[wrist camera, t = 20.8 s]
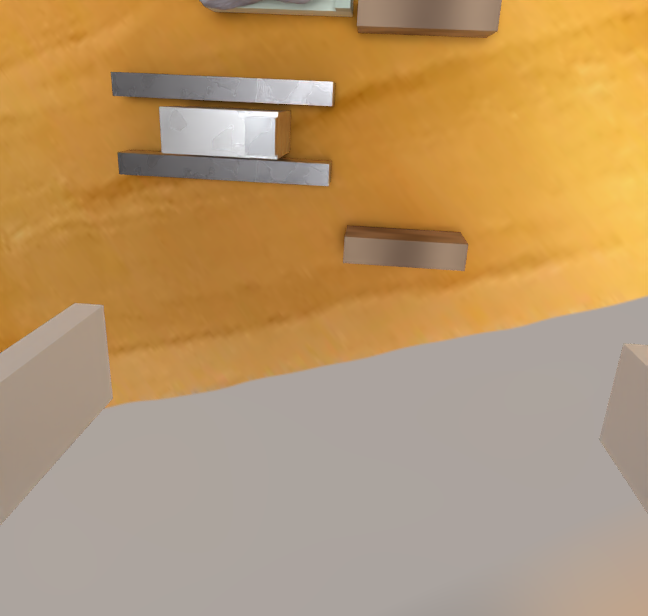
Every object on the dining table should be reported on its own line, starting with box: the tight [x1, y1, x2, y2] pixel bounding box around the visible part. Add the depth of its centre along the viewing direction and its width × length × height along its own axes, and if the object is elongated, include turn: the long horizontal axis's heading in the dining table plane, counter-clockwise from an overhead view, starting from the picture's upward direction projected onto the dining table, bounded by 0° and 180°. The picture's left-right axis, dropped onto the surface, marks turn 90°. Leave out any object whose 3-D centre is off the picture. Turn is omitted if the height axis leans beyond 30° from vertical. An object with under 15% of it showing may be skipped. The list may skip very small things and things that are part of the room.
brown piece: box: [343, 0, 502, 271], centre depth 41 cm, size 9×18×4 cm, turn 178°
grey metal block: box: [159, 106, 291, 159], centre depth 40 cm, size 8×3×7 cm, turn 88°
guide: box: [111, 72, 335, 186], centre depth 42 cm, size 16×7×2 cm, turn 88°
